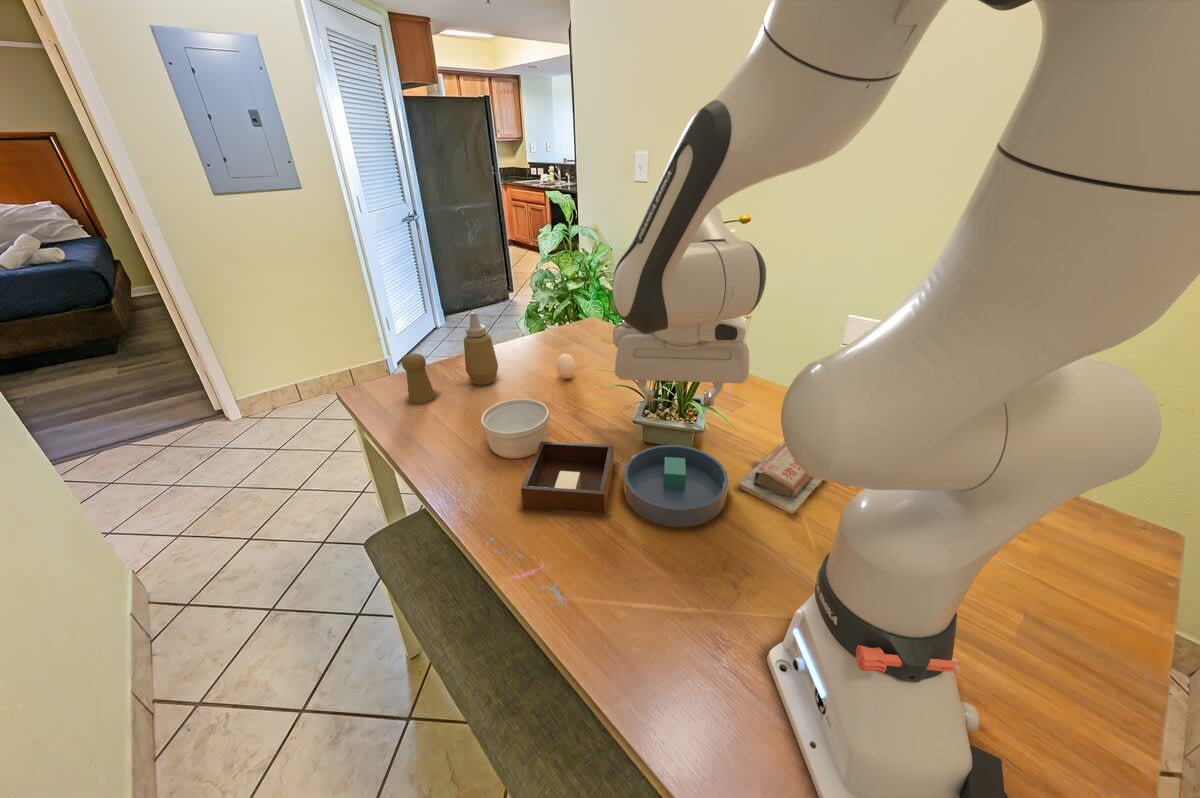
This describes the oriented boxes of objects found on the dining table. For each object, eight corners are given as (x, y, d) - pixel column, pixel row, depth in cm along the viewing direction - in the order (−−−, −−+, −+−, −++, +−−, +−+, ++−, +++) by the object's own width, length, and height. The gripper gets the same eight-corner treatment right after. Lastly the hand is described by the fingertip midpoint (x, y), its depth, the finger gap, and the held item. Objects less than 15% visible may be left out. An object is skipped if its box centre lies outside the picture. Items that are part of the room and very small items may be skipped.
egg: (572, 372, 124) (570, 348, 121) (579, 379, 120) (577, 355, 117) (554, 376, 122) (552, 352, 119) (561, 383, 118) (559, 359, 115)
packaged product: (787, 424, 90) (841, 444, 84) (783, 445, 93) (836, 466, 87) (739, 467, 79) (798, 493, 73) (736, 489, 82) (792, 517, 75)
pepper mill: (411, 406, 111) (400, 363, 105) (407, 395, 115) (396, 354, 110) (437, 399, 113) (428, 357, 108) (432, 389, 118) (423, 348, 112)
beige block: (576, 504, 79) (575, 490, 77) (555, 502, 79) (553, 488, 78) (581, 485, 83) (580, 471, 82) (560, 484, 83) (559, 470, 82)
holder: (604, 515, 77) (604, 494, 75) (523, 509, 79) (520, 488, 77) (613, 464, 89) (613, 445, 87) (542, 460, 91) (540, 441, 88)
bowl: (730, 532, 73) (733, 513, 71) (619, 524, 75) (619, 505, 73) (720, 465, 88) (722, 447, 86) (628, 459, 90) (628, 442, 88)
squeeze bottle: (496, 387, 118) (486, 318, 109) (464, 388, 118) (451, 319, 109) (502, 373, 125) (493, 307, 116) (472, 373, 125) (460, 307, 116)
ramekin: (474, 442, 97) (468, 413, 93) (528, 419, 104) (524, 391, 101) (508, 472, 88) (503, 441, 84) (564, 444, 95) (562, 414, 92)
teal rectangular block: (684, 488, 81) (685, 474, 80) (663, 487, 82) (664, 473, 80) (684, 471, 86) (685, 458, 84) (664, 470, 86) (664, 456, 85)
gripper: (610, 327, 68) (612, 410, 75) (757, 330, 65) (745, 415, 72) (614, 313, 74) (616, 391, 80) (750, 315, 71) (740, 396, 78)
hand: (678, 403), depth 76 cm, fingers open, 8 cm apart
